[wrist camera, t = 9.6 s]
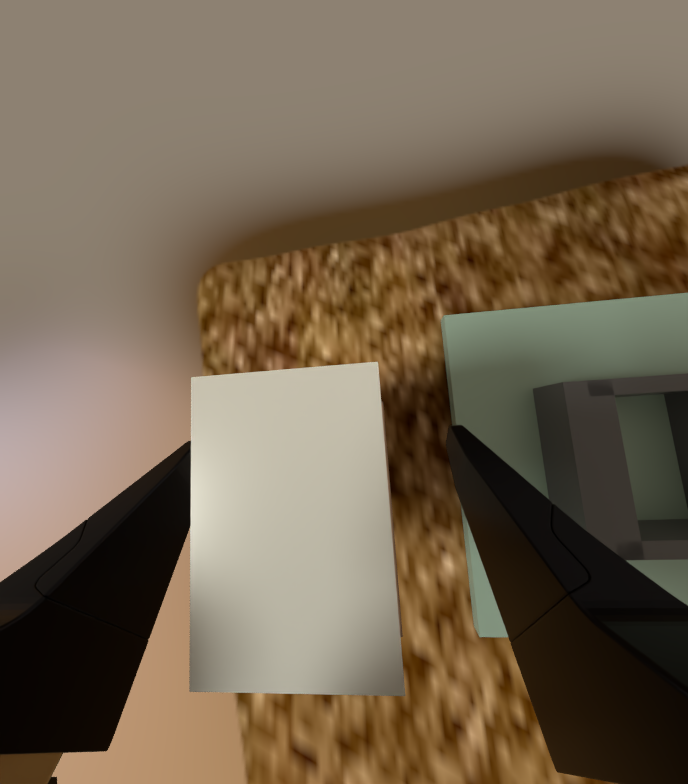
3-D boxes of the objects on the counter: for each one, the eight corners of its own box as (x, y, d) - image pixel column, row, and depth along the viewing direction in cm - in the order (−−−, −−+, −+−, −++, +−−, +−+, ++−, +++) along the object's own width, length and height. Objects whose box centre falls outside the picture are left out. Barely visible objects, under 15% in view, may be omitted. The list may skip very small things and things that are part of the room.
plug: (380, 502, 17) (407, 696, 5) (314, 504, 17) (186, 691, 5) (373, 404, 17) (380, 361, 6) (310, 409, 18) (188, 377, 6)
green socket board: (842, 627, 14) (988, 690, 10) (473, 625, 15) (502, 680, 12) (753, 291, 16) (852, 257, 13) (440, 320, 18) (456, 296, 14)
